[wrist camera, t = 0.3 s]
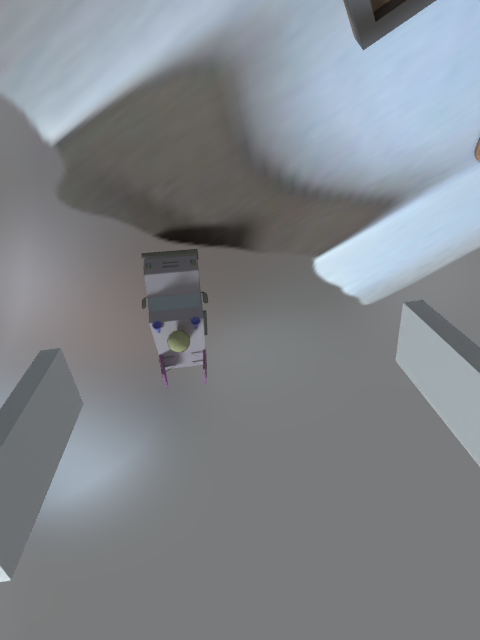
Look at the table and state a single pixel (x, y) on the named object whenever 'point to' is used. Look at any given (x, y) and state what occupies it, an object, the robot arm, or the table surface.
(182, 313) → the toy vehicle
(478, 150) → the case
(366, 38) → the tray
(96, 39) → the table surface
